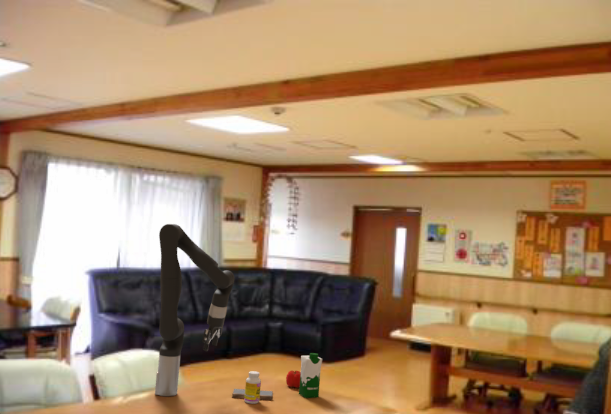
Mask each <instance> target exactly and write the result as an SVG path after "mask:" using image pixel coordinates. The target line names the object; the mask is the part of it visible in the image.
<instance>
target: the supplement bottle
mask: <svg viewBox="0 0 611 414" xmlns="http://www.w3.org/2000/svg"><path fill="white" fill-rule="evenodd" d="M259 376H260V372H259V371H256V370H255V371H253V370H251V371H249V372H248V377H247V378H246V379H245V386H244V389H245V398H243V399H244V402H245V403H246V404H253V405H254V404H255V405H256V404H258V403H259V402H260V400H261V399H260V390H261V387H262V385H261V383H262V380H261V379H260V377H259Z"/></svg>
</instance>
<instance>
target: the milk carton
mask: <svg viewBox="0 0 611 414" xmlns="http://www.w3.org/2000/svg"><path fill="white" fill-rule="evenodd" d="M300 362H301V364H300V365H301V366H300V372H301V375H300V387H298V389H299V390H298V395H300V396H301V397H303V398H304V399H311V398H314V399H315V398H319V394H320V381H321V371H322V369H321V368H322V363H323V358H321V357H319V353H316V352H310V353H309V355H301V356H300Z"/></svg>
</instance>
